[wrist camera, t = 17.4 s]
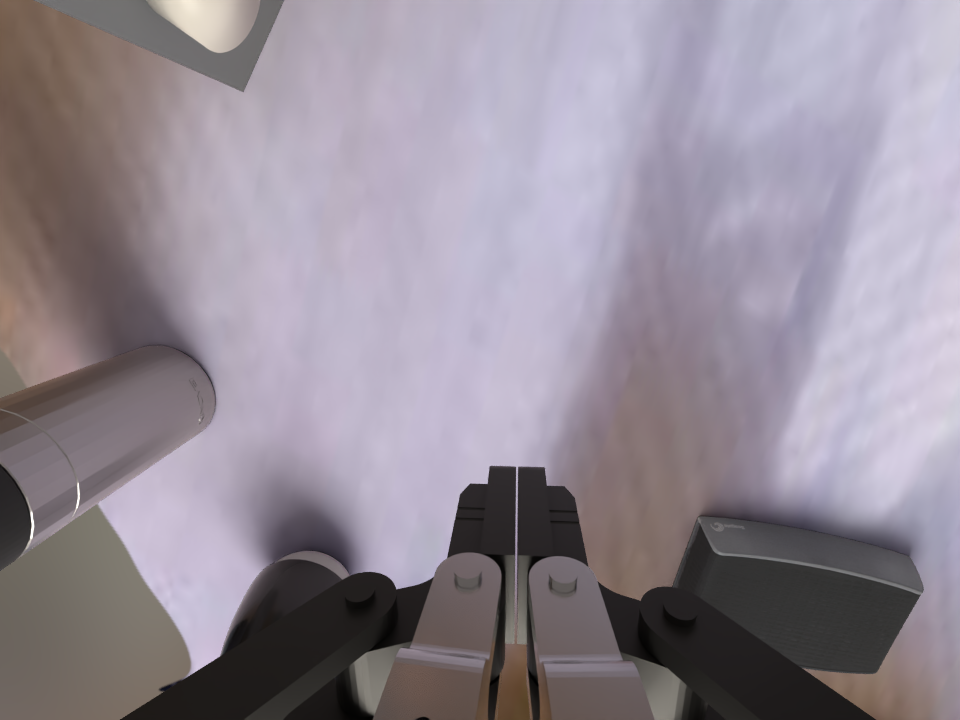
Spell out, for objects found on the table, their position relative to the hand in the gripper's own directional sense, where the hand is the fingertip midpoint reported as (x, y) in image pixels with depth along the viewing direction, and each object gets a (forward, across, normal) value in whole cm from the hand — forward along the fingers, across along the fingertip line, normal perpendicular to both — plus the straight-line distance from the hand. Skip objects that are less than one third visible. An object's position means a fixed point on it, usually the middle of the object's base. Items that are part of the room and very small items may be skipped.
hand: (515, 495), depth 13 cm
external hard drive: (+28, -25, +27) cm, 46 cm away
